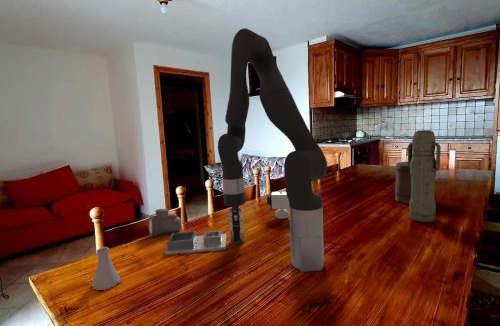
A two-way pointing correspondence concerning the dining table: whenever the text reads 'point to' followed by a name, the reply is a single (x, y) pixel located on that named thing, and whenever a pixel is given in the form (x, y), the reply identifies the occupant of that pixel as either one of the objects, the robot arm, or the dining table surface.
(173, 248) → the plate
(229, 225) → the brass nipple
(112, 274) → the flask
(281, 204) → the pneumatic valve
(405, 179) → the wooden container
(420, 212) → the thermos
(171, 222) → the pipe fitting
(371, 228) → the dining table surface
